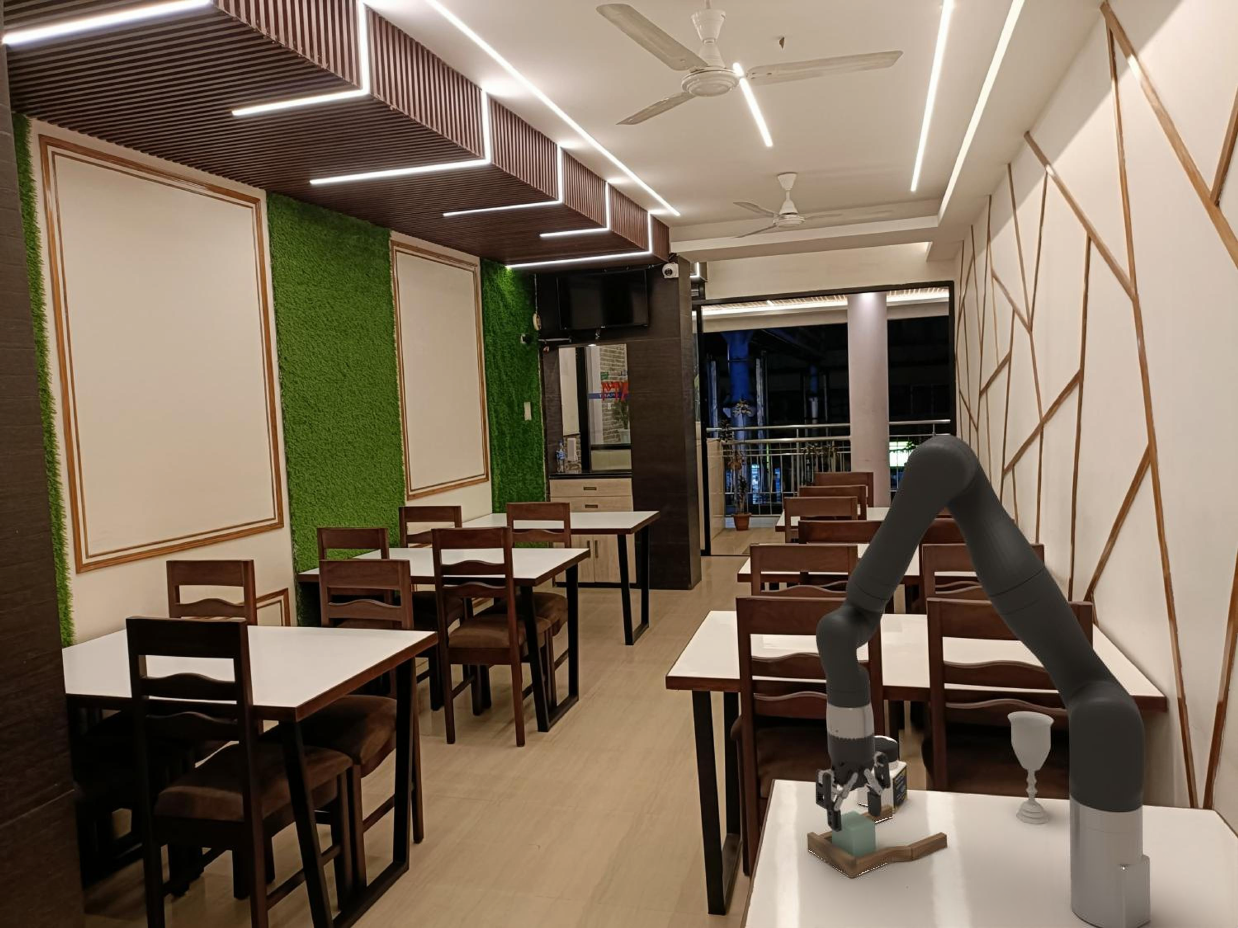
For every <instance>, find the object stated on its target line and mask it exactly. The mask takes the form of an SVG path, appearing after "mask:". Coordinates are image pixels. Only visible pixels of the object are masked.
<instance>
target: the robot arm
mask: <svg viewBox="0 0 1238 928" xmlns="http://www.w3.org/2000/svg"><path fill="white" fill-rule="evenodd" d="M944 509H946V511H947V512H948V514H949V515H950V516H951V518H952V519H953V521H954V522H955V524H956V526H957V527H958V529H959V531H960V533H961V535H962V538H963V541H964V544H965V547H966V549H967V552H968V555H969V559H970V561H971V564H972V567H973V570H974V573H975V575H976V578H977V580H978V583H979V584H980V586H981V588H982V589H983V592H984V594H985V595H986V597H987V598H988V600H989V602H990V603H991V605H992V606H993V608H994V609H995V611H996V613H997V614H998V616H999V617H1000V619H1001V620H1002V621H1003V622H1004V624H1005V625H1006V626H1007V628H1008V629H1009V630H1010V631H1011V632H1012V634H1013V635H1014V636H1015V637H1016V638H1017V639H1018V641H1020V643H1022V644H1023V645H1024V646H1025V648H1026V649H1028V650H1029V651H1030V652H1031V653H1032V654H1033V656H1035V658H1036V659H1037V660H1038V662H1040V664H1041V665H1042V666H1043V668H1044V670H1045V671H1046V672H1047V674H1048V676H1049V678H1050V680H1051V681H1052V683H1053V685H1054V687H1055V689H1056V690H1057V693H1058V694H1059V696H1060V699H1061V701H1062V702H1063V705H1064V707H1065V709H1066V712H1067V719H1068V733H1069V736H1068V737H1069V774H1068V775H1069V776H1068V777H1069V778H1068V781H1069V783H1068V785H1069V786H1068V788H1069V789H1068V790H1069V849H1070V850H1069V854H1070V857H1069V859H1070V861H1069V863H1070V864H1069V865H1070V867H1069V868H1070V869H1069V871H1070V872H1069V873H1070V905H1071V906H1070V907H1071V910H1072V911H1073V912H1074V914H1075V915H1076V916H1077V917H1079V918H1080V919H1081V920H1083V921H1084V922H1087V923H1089V924H1091V925H1093V926H1096V927H1099V928H1140V927H1141V926H1143V925H1145V924H1146V923H1148V922H1150V921H1151V860H1150V859H1151V858H1150V856H1148V855H1146V854H1144V841H1143V840H1144V839H1143V838H1144V836H1143V835H1144V831H1143V830H1144V829H1143V827H1144V825H1143V824H1144V820H1143V818H1144V817H1143V816H1144V812H1143V811H1144V809H1143V806H1144V805H1143V802H1144V801H1143V800H1144V799H1143V795H1144V790H1145V782H1146V779H1145V775H1146V773H1145V771H1146V769H1145V767H1146V733H1145V727H1144V726H1145V725H1144V722H1143V719H1142V716H1141V713H1140V709H1139V707H1138V705H1137V703H1136V701H1135V699H1134V697H1133V696H1132V695H1131V694H1130V693H1129V692H1128V690H1127V689H1126V688H1125V687H1124V686H1123V684H1122V683H1121V682H1120V681H1119V680H1118V678H1117V677H1116V676H1115V675H1114V674H1113V672H1112V671H1111V670H1110V669H1109V668H1108V666H1107V665H1106V663H1105V662H1104V661H1103V660H1102V659H1101V657H1100V656H1099V655H1098V653H1097V652H1096V651H1095V649H1094V648H1093V646H1092V644H1090V642H1089V640H1088V638H1087V637H1086V634H1085V633H1084V631H1083V627H1081V625H1080V622H1079V620H1078V618H1077V616H1076V614H1075V613H1074V611H1073V609H1072V607H1071V605H1070V604H1069V602H1068V600H1067V599H1066V596H1065V595H1064V594H1063V591H1062V590H1061V588H1060V586H1059V585H1058V583H1057V581H1056V580H1055V578H1054V577H1053V576H1052V574H1051V573H1050V571H1049V569H1048V568H1047V566H1046V565H1045V563H1044V562H1043V561H1042V559H1041V558H1040V557H1039V555H1038V554H1037V553H1036V552H1037V551H1035V549H1034V548H1033V547H1032V545H1031V543H1030V542H1029V541H1028V539H1027V538H1026V536H1025V535H1024V533H1023V531H1022V530H1021V529H1020V528H1019V526H1018V525H1017V524H1016V522H1015V521H1014V520H1013V517H1012V516H1010V514H1009V513H1008V511H1007V510H1006V509H1005V507H1004V505H1003V504H1002V502H1001V501H1000V499H999V496H997V493H996V491H995V490H994V487H993V486H992V484H991V481H990V479H989V478H988V476H987V474H986V472H985V470H984V468H983V466H982V464H981V462H980V461H979V458H978V456H977V454H976V452H975V450H973V448H972V447H971V446H970V445H969V444H968V443H967V442H966V441H964V440H963V439H961V438H959V437H957V436H955V435H950V434H938V435H934V436H933V437H931V438H928V439H927V440H925V441H924V442H922V443H920V444H919V445H917V446H916V447H915V448H914V449H913V450H912V451H911V452H910V454H909V455H908V458H907V459H906V463H905V466H904V468H903V471H902V474H901V477H900V480H899V483H898V486H897V489H896V491H895V494H894V497H893V499H892V501H891V504H890V506H889V508H888V510H887V512H886V515H885V516H884V519H883V520H882V523H881V524H880V527H879V528H878V529H877V531H876V532H875V534H874V536H873V538H872V539H871V540H870V543H869V544H868V545H867V547H866V549H865V551H864V552H863V554H862V556H861V557H860V558H859V561H858V562H857V563H856V565H855V568H854V569H853V571H852V573H851V575H850V577H849V578H848V580H847V583H846V586H845V592H846V597H845V599H844V601H843V602H842V604H841V605H840V607H839V608H837V609H835V610H833V611H831V612H829V613H828V614H825V615H824V616H822V618H820V620H819V622H818V624H817V627H816V631H815V641H816V642H815V643H816V644H815V645H816V648H817V653H818V655H819V659H820V663H821V667H822V668H823V669H822V670H823V671H824V672H823V673H824V674H825V688H826V711H825V712H826V730H827V735H826V736H827V749H828V752H827V753H828V756H829V758H830V761H831V764H830V768H829V769H825V770H823V769H820V768H817V769H816V770H815V804H816V805H817V806H819V807H821V808H823V809H825V810H826V817H827V819H826V820H827V826H828V827H830V829H831V830H832V829H833V830H834V831H836V832H839V831H841V830H842V824H841V815H842V812H841V810H842V809H841V806H842V804H843V802H844V800H845V799H846V800H847V799H848V797H849V794H850V792H853V791H855V790H857V788H862V787H865V786H866V787H867V789H868V790H869V791H870V792H867V800H868V807H867V812H869V814H870V815H872V816H874V817H876V818H877V817H879V816H880V815H881V814H880V812H881V810H882V806H881V795H882V793H883V790H884V789H885V788H886V789H889V788H890V786H891V782H890V772H889V761H888V756H887V755H886V754H884V753H881V752H879V751H876V750H875V740H874V736H875V726H874V712H873V707H872V700H871V681H870V675H869V671H868V669H867V668H866V667H865V666H863V665H862V664H860V663H859V659H858V650H859V649H860V648H861V647H864V646H865V645H866V644H867V643H868V642H869V641H870V640H871V639H872V637H873V636H874V634H875V633H876V631H877V630H878V627H879V626H880V625H879V624H880V623H881V620H882V617H883V614H884V612H885V609H886V606H887V604H888V603H889V602H890V600H891V598H892V597H893V595H894V594H895V592H896V591H897V589H898V587H899V585H900V583H901V582H902V581H903V579H904V578H905V574H906V573H907V572H908V569H909V567H910V564H911V563H912V561H913V558H914V556H915V553H916V551H917V548H918V547H919V545H920V542H921V540H922V539H923V537H924V535H926V532H927V530H928V529H929V528H930V526H931V525H932V523H934V521H935V520H936V519H937V517H938V516H939V515H940V514H941V512H942V511H943V510H944ZM873 767H874V775H875V777H874V776H873V775H872V773H871V772H872V769H873ZM882 776H883V779H882ZM838 786H839V787H840V788H841V790H839V789H838ZM834 799H835V800H834Z"/></svg>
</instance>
